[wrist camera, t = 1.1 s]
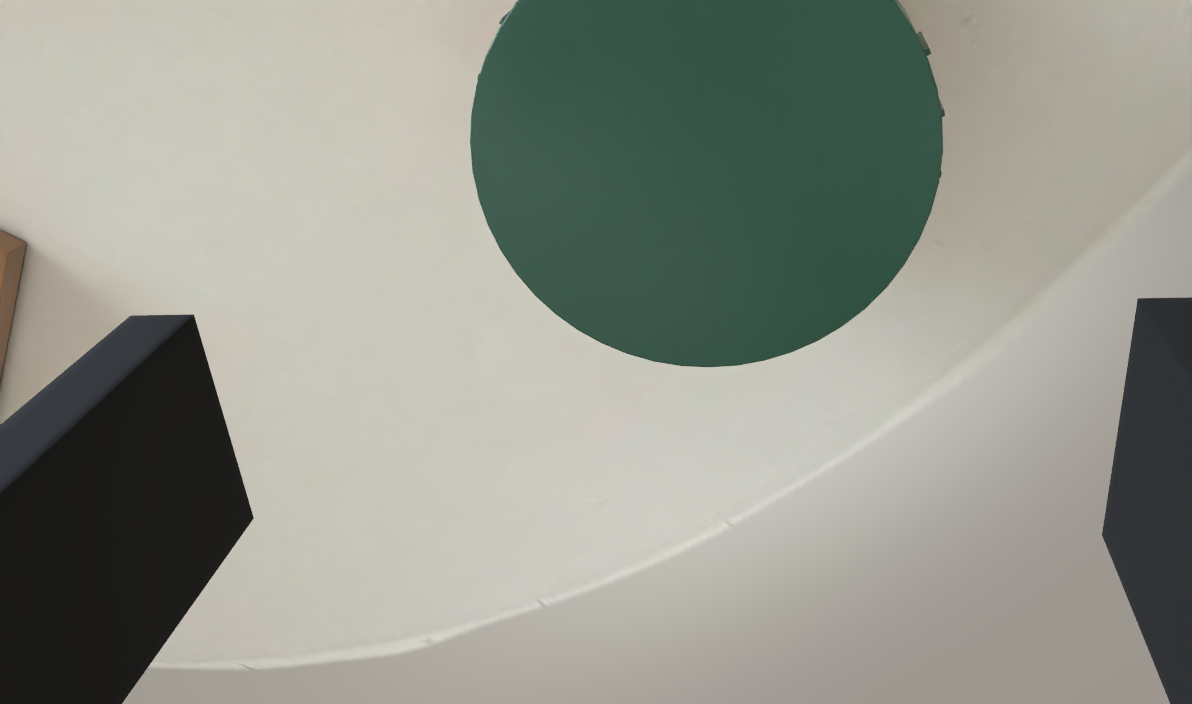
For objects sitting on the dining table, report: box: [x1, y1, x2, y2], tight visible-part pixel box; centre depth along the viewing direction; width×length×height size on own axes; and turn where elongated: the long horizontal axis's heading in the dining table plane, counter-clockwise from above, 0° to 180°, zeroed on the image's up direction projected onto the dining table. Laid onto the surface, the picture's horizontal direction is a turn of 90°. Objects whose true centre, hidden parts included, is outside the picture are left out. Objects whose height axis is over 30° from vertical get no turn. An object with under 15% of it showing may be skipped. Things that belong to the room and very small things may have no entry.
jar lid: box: [470, 0, 945, 367], centre depth 20 cm, size 8×8×2 cm
